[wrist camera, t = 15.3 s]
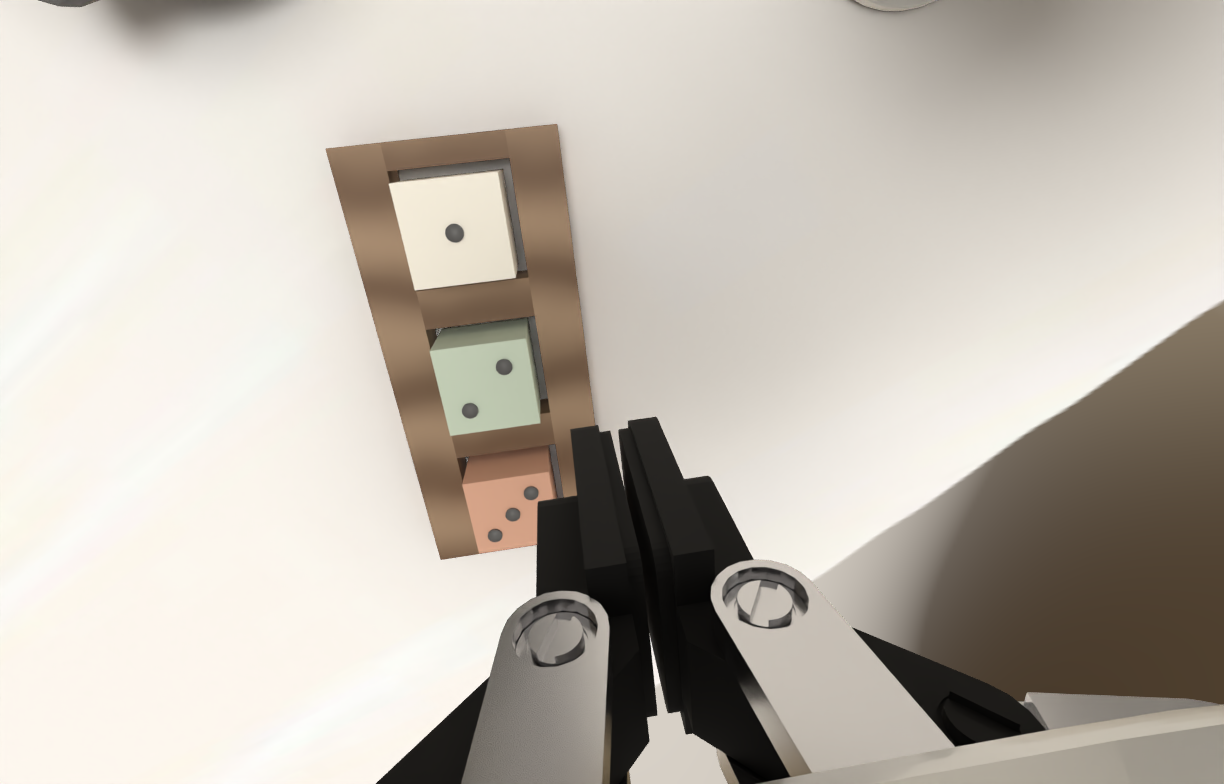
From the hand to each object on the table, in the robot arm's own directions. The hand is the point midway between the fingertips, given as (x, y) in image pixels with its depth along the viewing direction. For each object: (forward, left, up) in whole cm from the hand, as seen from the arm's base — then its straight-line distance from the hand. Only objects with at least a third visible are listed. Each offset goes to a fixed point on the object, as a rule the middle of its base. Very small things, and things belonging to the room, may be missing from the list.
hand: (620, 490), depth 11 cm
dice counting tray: (+6, +7, -29) cm, 31 cm away
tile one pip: (+6, -3, -29) cm, 29 cm away
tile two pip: (+6, +7, -29) cm, 30 cm away
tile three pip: (+6, +16, -28) cm, 33 cm away
